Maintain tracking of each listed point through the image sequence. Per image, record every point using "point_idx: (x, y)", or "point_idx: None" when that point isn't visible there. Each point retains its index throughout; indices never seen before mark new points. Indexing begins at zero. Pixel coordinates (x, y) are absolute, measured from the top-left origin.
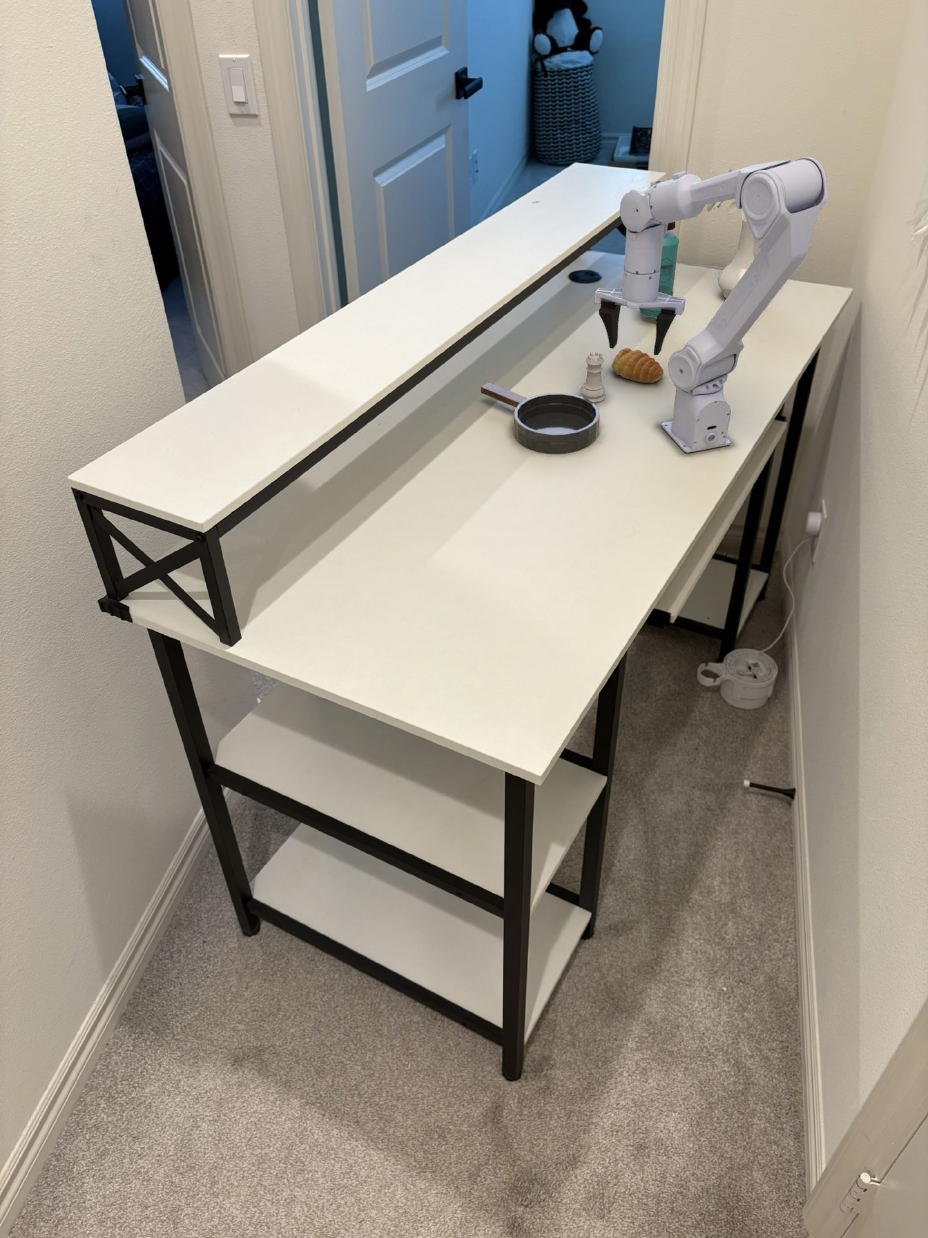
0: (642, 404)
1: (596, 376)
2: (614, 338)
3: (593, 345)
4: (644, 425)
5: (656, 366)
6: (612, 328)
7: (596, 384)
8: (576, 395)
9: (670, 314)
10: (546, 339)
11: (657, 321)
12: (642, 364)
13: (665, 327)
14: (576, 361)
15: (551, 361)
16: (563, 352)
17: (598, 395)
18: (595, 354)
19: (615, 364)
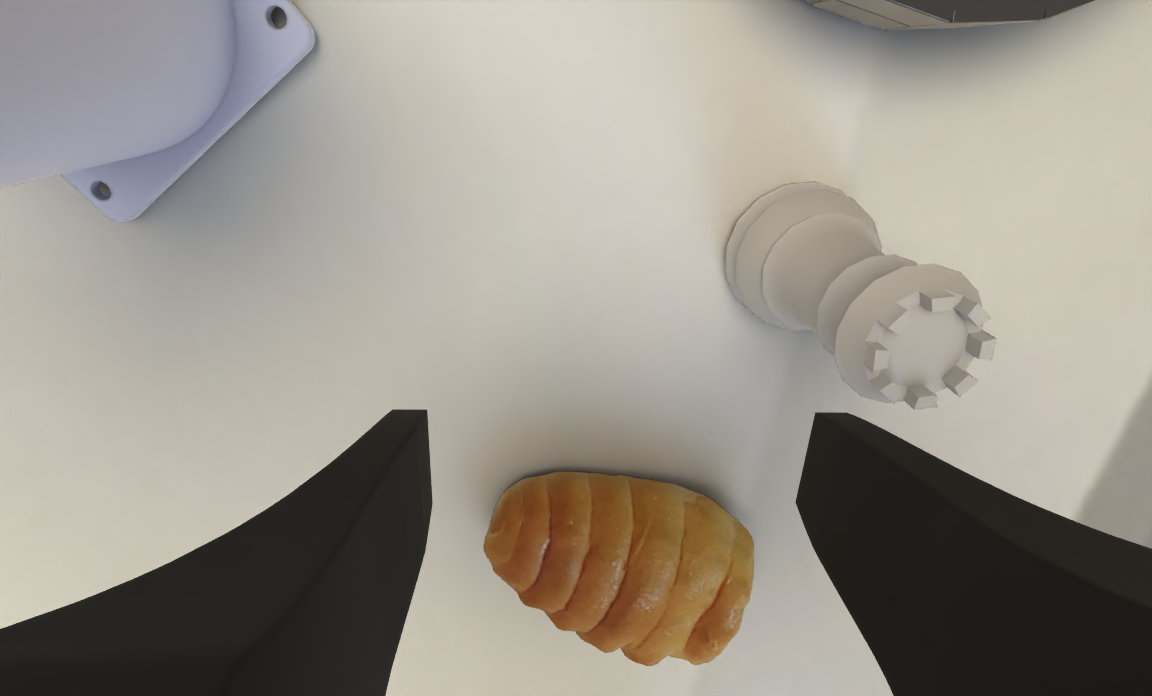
0: (510, 267)
1: (836, 263)
2: (852, 484)
3: (855, 690)
4: (421, 18)
5: (521, 564)
6: (960, 516)
7: (809, 242)
8: (934, 8)
9: None
10: None
11: (217, 646)
12: (595, 554)
13: (123, 591)
14: None
15: None
16: None
17: (767, 212)
18: (924, 387)
19: (736, 539)
